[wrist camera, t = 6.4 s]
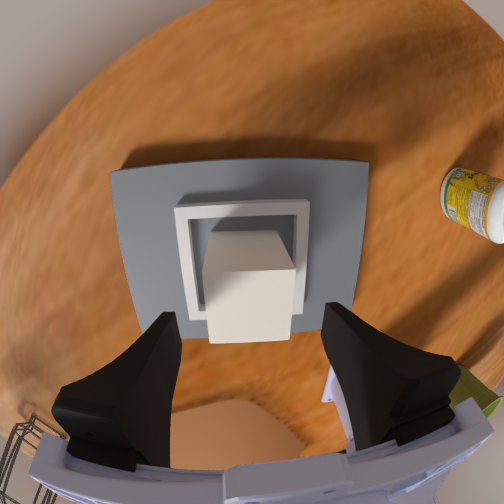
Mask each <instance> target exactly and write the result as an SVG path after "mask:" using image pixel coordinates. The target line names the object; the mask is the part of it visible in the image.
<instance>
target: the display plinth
mask: <svg viewBox="0 0 504 504" xmlns="http://www.w3.org/2000/svg"><path fill="white" fill-rule="evenodd" d="M109 176H110V185H111V193H112V201H113V208H114V214H115V221H116V227H117V232H118V238H119V243H120V248H121V253H122V258H123V263H124V267H125V272H126V276H127V280H128V284H129V288H130V292H131V296H132V300H133V303H134V307H135V311H136V314H137V318H138V321H139V324H140V328H141V331H142V334H143V333H144V332H145V331H146V330H147V329H148V328H149V327H150V325H151V324H152V323H153V322H154V321H155V320H156V319H157V318H158V316H159V315H160V314H161V313H162V312H175V314H176V318H177V323H178V328H179V332H180V337H181V338H209V334H208V325H207V317H206V307H205V298H204V288H203V277H202V270H203V265H204V260H205V255H206V250H207V245H208V240H209V235H210V232H219V231H257V230H277V232H278V234H279V236H280V238H281V240H282V242H283V244H284V246H285V248H286V250H287V252H288V254H289V256H290V258H291V260H292V262H293V264H294V266H295V268H296V275H295V287H294V298H293V309H292V319H291V329H290V333H295V332H305V331H314V330H322V323H323V317H324V310H325V303H328V302H339V303H340V304H341V305H343V306H344V307H346V308H347V309H348V310H350V311H351V308H352V303H353V298H354V293H355V287H356V282H357V276H358V270H359V263H360V256H361V249H362V242H363V234H364V225H365V215H366V205H367V193H368V178H369V163H368V162H363V161H358V160H346V159H328V158H298V157H257V158H227V159H209V160H195V161H183V162H172V163H162V164H154V165H145V166H138V167H130V168H123V169H118V170H115V171H112V172H109Z"/></svg>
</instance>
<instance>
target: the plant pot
mask: <svg viewBox="0 0 504 504" xmlns="http://www.w3.org/2000/svg"><path fill="white" fill-rule="evenodd" d="M458 366H459V368H460V369H461V375H460V378H459V380H458V382H457V384H456V385H455V387H454V388H453V390H452V391H451V393H450V394H449V398H450V399H451V403H450V404H449V406H450V407H451V409H452V408H453V407H455V406H456V405H457V404H459V403H461V402H463V401H464V400H466V399H468V398H470V397H473V399H474V400H475V402H476V403H477V405H478V406H479V408H480V409H481V411H482V412H483V414H484V415H485V417H486V418H488V417H489V416H490V415H491V414H492V413H493V412H494V411H495V410H496V409H497V407H498V406H499V405H500V403H501V402H502V400H503V396H500V397H499V396H498V395H496V394H495V393H494V392H493V391H492V390H489V389H488V388H487V387H486V386H485V385H484V384H483V383H482V382H480V381H479V380H478V379H477V378H476V377H475V376H474V375H473V374H472V373H471V372H469V371H468V370H467V369H466V368H465V367H464V366H462V365H458Z"/></svg>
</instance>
